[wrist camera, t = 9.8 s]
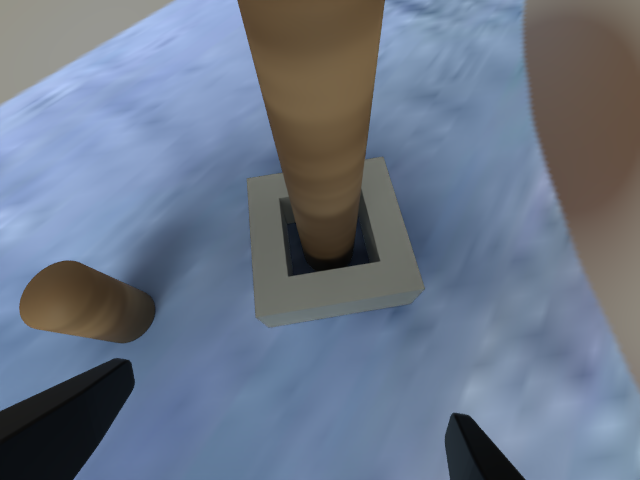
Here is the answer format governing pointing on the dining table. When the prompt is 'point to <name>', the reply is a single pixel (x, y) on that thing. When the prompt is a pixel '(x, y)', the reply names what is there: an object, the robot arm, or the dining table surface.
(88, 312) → the short dowel
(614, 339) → the dining table surface
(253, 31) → the long dowel
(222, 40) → the dining table surface
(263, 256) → the hole block
